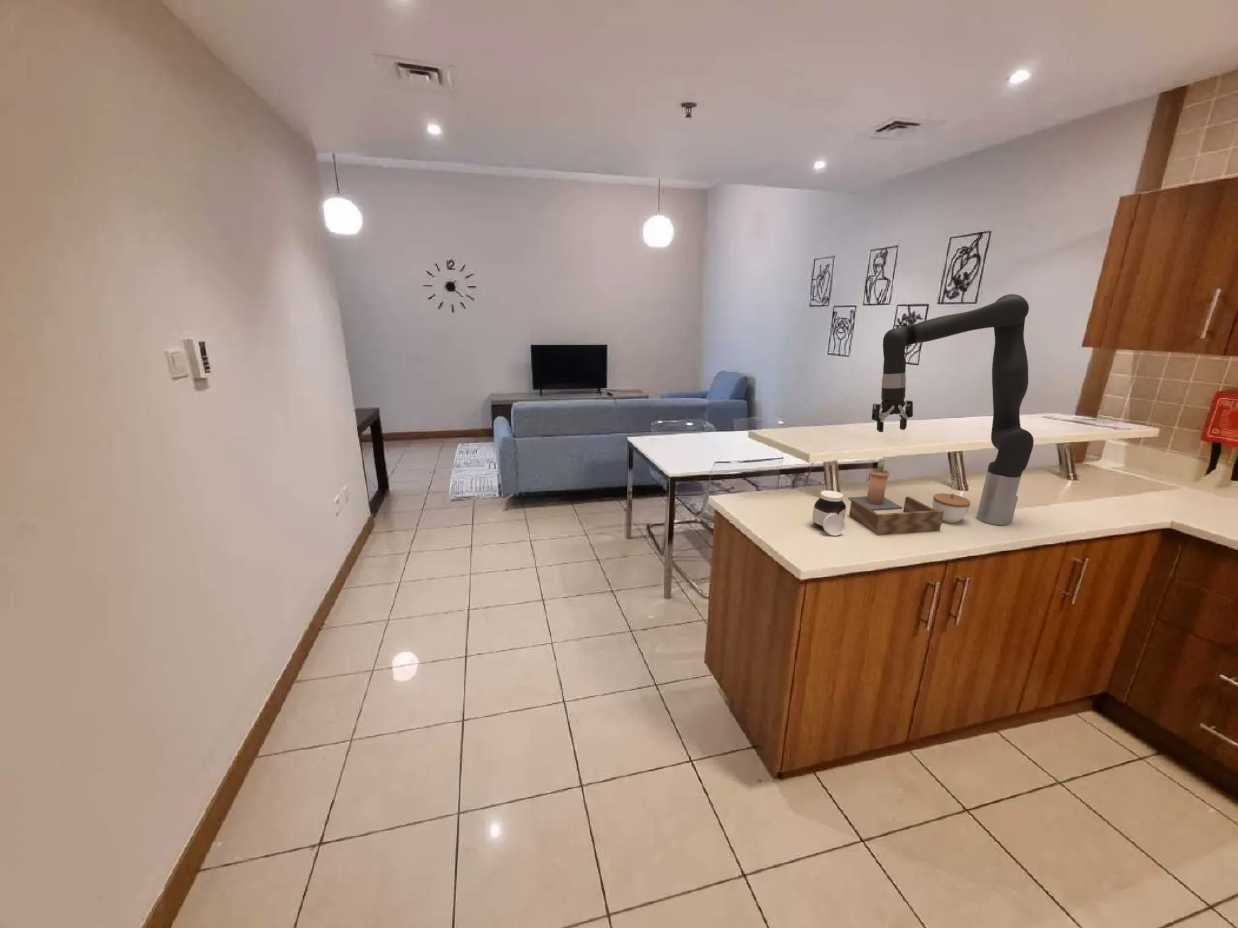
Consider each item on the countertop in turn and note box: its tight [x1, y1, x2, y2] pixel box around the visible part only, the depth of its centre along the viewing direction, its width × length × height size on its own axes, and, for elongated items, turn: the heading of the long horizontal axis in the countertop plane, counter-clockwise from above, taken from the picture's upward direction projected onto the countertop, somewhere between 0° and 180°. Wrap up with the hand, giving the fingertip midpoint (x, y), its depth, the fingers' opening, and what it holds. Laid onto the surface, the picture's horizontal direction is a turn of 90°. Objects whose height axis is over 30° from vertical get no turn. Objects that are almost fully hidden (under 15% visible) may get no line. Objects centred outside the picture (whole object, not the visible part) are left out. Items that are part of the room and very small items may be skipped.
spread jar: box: [811, 490, 847, 537], centre depth 165 cm, size 12×11×12 cm
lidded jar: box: [931, 492, 971, 524], centre depth 173 cm, size 11×11×9 cm
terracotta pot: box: [866, 458, 891, 505], centre depth 185 cm, size 6×6×17 cm
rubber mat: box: [847, 495, 903, 512], centre depth 187 cm, size 14×12×1 cm
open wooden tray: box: [848, 496, 944, 536], centre depth 170 cm, size 22×16×7 cm
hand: (891, 430), depth 182 cm, fingers open, 8 cm apart
